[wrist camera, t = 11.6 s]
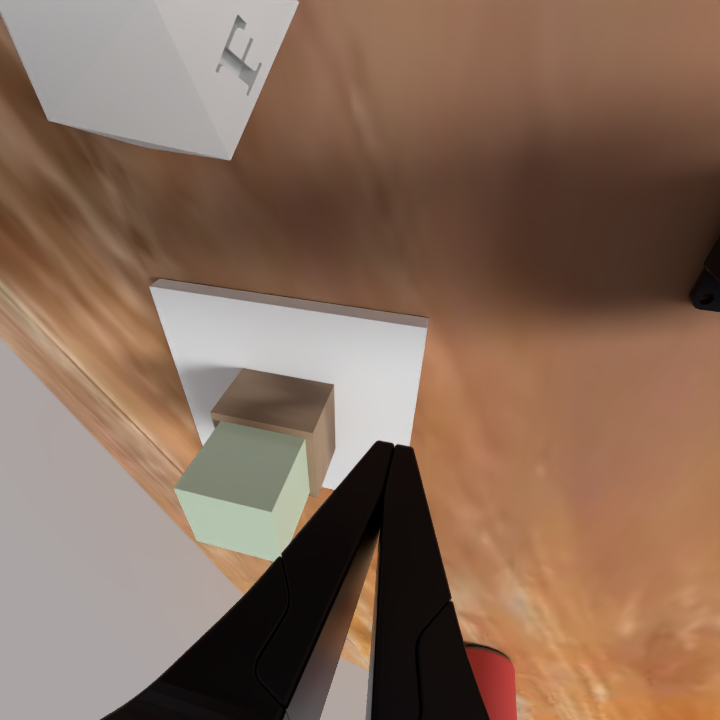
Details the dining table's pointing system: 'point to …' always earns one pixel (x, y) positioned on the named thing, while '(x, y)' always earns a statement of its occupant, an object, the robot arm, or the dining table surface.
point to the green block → (246, 490)
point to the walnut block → (284, 413)
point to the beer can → (494, 681)
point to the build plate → (298, 358)
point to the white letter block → (150, 66)
